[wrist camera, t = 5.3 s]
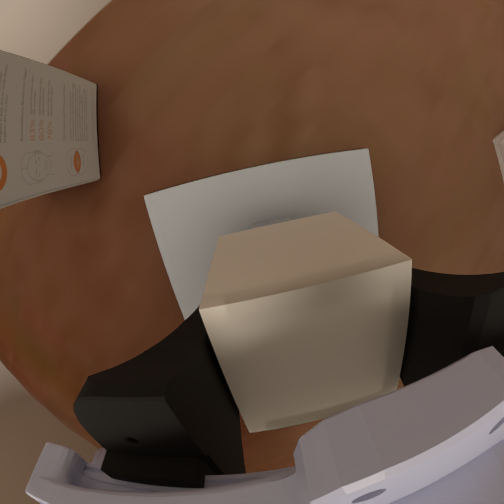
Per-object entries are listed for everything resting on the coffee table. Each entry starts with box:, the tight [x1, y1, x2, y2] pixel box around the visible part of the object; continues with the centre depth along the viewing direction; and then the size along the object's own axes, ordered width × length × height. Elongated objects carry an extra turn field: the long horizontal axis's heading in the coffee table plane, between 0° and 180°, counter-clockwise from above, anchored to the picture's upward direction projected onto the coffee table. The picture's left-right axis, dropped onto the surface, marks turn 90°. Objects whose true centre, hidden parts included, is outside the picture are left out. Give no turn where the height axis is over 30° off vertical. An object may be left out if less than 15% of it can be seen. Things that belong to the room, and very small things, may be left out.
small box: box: [0, 50, 100, 209], centre depth 10 cm, size 8×6×13 cm
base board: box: [144, 149, 379, 320], centre depth 19 cm, size 10×16×1 cm, turn 102°
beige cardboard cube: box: [199, 211, 412, 433], centre depth 10 cm, size 5×5×6 cm
